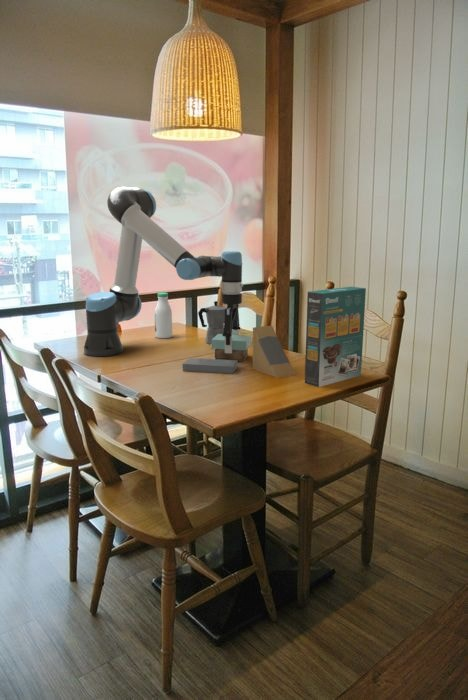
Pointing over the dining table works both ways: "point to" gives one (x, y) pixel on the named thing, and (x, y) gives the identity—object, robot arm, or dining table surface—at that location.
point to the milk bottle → (163, 317)
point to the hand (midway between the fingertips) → (231, 349)
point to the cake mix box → (334, 335)
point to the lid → (237, 342)
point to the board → (210, 365)
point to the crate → (231, 354)
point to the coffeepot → (213, 320)
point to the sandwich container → (269, 353)
